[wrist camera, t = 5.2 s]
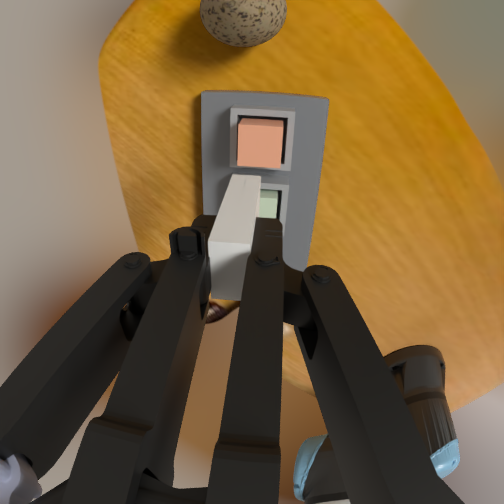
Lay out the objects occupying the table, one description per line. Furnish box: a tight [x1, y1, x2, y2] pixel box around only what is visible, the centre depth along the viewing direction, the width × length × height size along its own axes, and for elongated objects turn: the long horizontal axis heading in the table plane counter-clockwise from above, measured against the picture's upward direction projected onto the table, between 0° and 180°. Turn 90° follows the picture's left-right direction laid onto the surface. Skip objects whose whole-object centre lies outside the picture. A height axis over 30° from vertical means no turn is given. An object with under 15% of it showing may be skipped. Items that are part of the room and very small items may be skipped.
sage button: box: [259, 189, 278, 218], centre depth 31 cm, size 4×4×3 cm
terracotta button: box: [237, 118, 283, 169], centre depth 26 cm, size 4×4×3 cm
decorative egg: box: [200, 0, 287, 47], centre depth 20 cm, size 7×7×10 cm
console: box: [201, 90, 329, 272], centre depth 33 cm, size 22×12×4 cm, turn 178°
